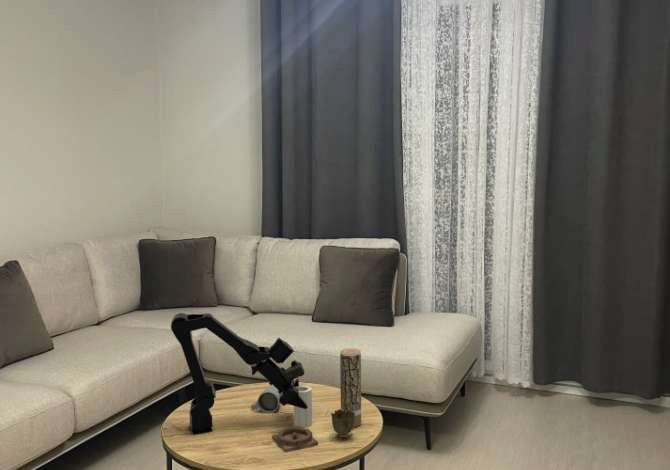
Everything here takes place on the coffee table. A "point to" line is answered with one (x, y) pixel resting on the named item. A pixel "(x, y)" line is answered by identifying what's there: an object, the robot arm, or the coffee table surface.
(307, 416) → the tube
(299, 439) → the holder
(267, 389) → the ceramic mug
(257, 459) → the coffee table surface
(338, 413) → the cup
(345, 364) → the paper tube
